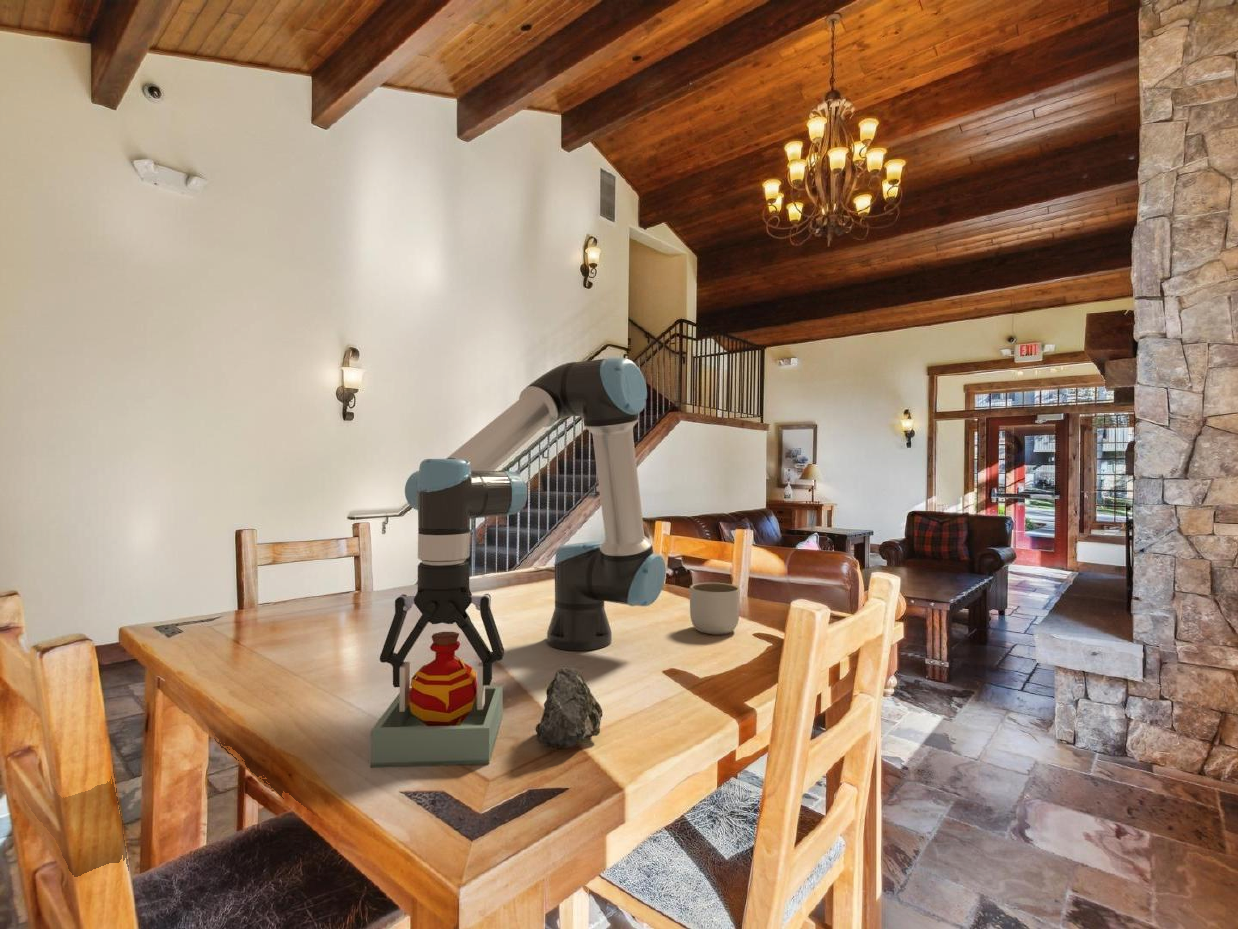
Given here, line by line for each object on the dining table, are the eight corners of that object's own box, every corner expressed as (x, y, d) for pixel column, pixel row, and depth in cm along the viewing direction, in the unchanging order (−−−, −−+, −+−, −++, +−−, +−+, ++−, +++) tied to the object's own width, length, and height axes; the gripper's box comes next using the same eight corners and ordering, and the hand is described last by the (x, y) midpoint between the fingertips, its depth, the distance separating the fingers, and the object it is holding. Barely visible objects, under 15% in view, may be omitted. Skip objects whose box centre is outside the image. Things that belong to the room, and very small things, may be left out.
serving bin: (502, 716, 101) (502, 686, 101) (489, 764, 85) (489, 728, 85) (403, 718, 100) (403, 688, 100) (370, 767, 84) (370, 730, 84)
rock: (538, 703, 100) (555, 655, 96) (595, 718, 100) (613, 671, 97) (526, 764, 88) (544, 712, 85) (589, 781, 89) (610, 730, 86)
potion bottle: (491, 726, 96) (492, 630, 96) (452, 754, 86) (454, 647, 86) (434, 717, 99) (436, 623, 99) (391, 743, 89) (393, 640, 90)
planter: (703, 621, 163) (704, 580, 163) (747, 629, 156) (747, 586, 156) (680, 632, 153) (680, 588, 153) (726, 640, 145) (726, 594, 145)
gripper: (523, 556, 97) (522, 696, 97) (373, 557, 95) (372, 699, 95) (519, 564, 89) (518, 715, 89) (356, 565, 88) (355, 719, 88)
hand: (442, 707), depth 92 cm, fingers open, 11 cm apart
